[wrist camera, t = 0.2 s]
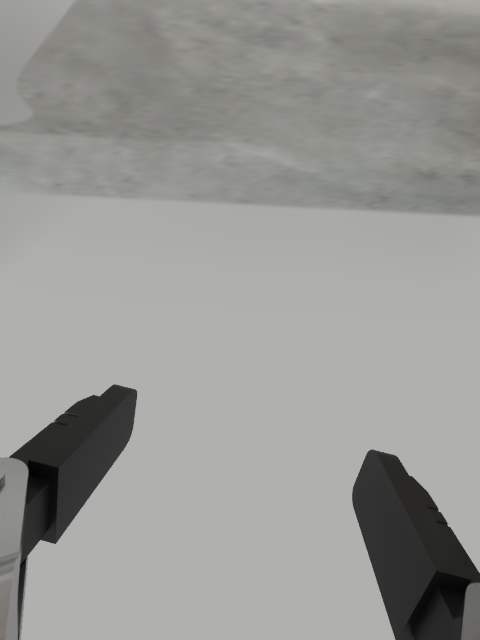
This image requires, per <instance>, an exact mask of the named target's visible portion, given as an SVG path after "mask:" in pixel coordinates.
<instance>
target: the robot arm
mask: <svg viewBox="0 0 480 640" xmlns="http://www.w3.org/2000/svg"><path fill="white" fill-rule="evenodd" d="M136 400H137V391H136V390H135V389H131V388H127V387H123V386H119V385H112V386H111V387H110V388H109V389H108V390H106V391H105V392H104V393H103V394H102V395H101V396H100V397H99V396H95V395H93V396H90V397H88V398H85V399H83V400H81V401H78V402H77V403H75V404H74V405H73V406H72V407H70V408H69V409H68V410H67V411H65V413H64V414H62V415H60V416H59V417H58V418H57V419H56V420H55V421H54V423H51V424H49V425H48V426H47V427H46V428H44V429H43V430H42V431H41V432H40V433H38V434H37V435H36V436H35V437H33V438H32V439H31V440H30V441H29V442H27V443H26V444H25V445H23V446H22V447H21V448H20V449H19V450H17V451H16V452H15V453H14V454H12V455H11V456H10V457H9V458H0V640H21V631H22V618H23V608H24V597H25V586H26V575H27V564H28V563H27V562H28V555H29V553H30V552H31V551H32V550H33V548H34V547H35V546H36V545H37V543H38V542H39V541H40V540H43V541H47V542H50V543H54V544H56V543H57V541H58V540H59V538H60V537H61V536H62V534H63V533H64V532H65V530H66V529H67V527H68V526H69V525H70V523H71V522H72V520H73V519H74V518H75V516H76V515H77V513H78V512H79V511H80V509H81V508H82V507H83V505H84V504H85V502H86V501H87V499H88V498H89V497H90V495H91V494H92V493H93V491H94V490H95V488H96V487H97V486H98V484H99V483H100V482H101V480H102V479H103V477H104V476H105V475H106V473H107V472H108V470H109V469H110V468H111V466H112V465H113V463H114V462H115V461H116V459H117V458H118V456H119V455H120V454H121V452H122V451H123V450H124V448H125V447H126V445H127V443H128V441H129V439H130V436H131V433H132V430H133V424H134V416H135V407H136ZM352 499H353V500H352V501H353V507H354V510H355V513H356V516H357V520H358V523H359V526H360V529H361V532H362V535H363V539H364V542H365V545H366V548H367V551H368V554H369V557H370V560H371V564H372V567H373V570H374V573H375V576H376V579H377V583H378V586H379V589H380V592H381V595H382V598H383V602H384V605H385V608H386V611H387V614H388V617H389V621H390V624H391V627H392V630H393V633H394V636H395V639H396V640H480V573H479V572H478V571H477V569H476V567H475V565H474V564H473V562H472V561H471V559H470V558H469V556H468V554H467V553H466V551H465V550H464V548H463V547H462V545H461V544H460V542H459V540H458V539H457V537H456V536H455V535H454V532H453V531H452V529H451V528H450V527H448V525H447V524H448V523H447V522H446V520H445V518H444V517H443V515H442V514H441V512H439V511H438V508H437V506H436V504H435V503H434V501H433V500H432V498H431V496H430V495H429V493H428V492H427V491H426V490H425V489H424V488H423V487H422V486H421V485H420V484H419V483H418V482H417V481H416V480H415V479H414V478H413V477H412V476H409V475H408V473H407V472H406V470H405V468H404V467H403V465H402V463H401V462H400V460H399V459H398V457H397V456H395V455H391V454H387V453H384V452H380V451H375V450H370V451H368V453H367V455H366V457H365V459H364V462H363V464H362V467H361V469H360V472H359V474H358V477H357V479H356V482H355V484H354V487H353V493H352Z"/></svg>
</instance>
